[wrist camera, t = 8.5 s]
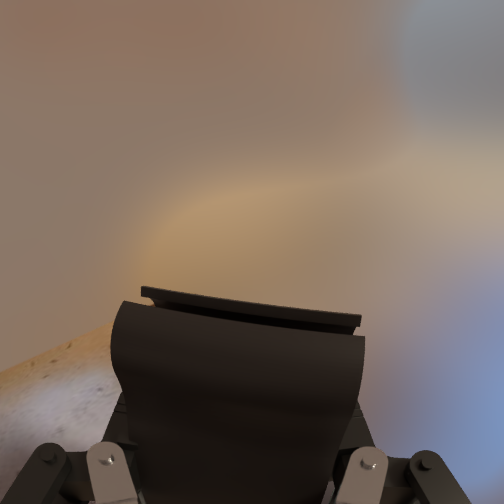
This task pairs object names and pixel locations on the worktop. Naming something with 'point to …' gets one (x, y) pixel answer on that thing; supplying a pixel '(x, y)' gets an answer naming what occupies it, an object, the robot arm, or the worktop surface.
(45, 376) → the worktop surface
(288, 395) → the phone stand
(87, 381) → the worktop surface
